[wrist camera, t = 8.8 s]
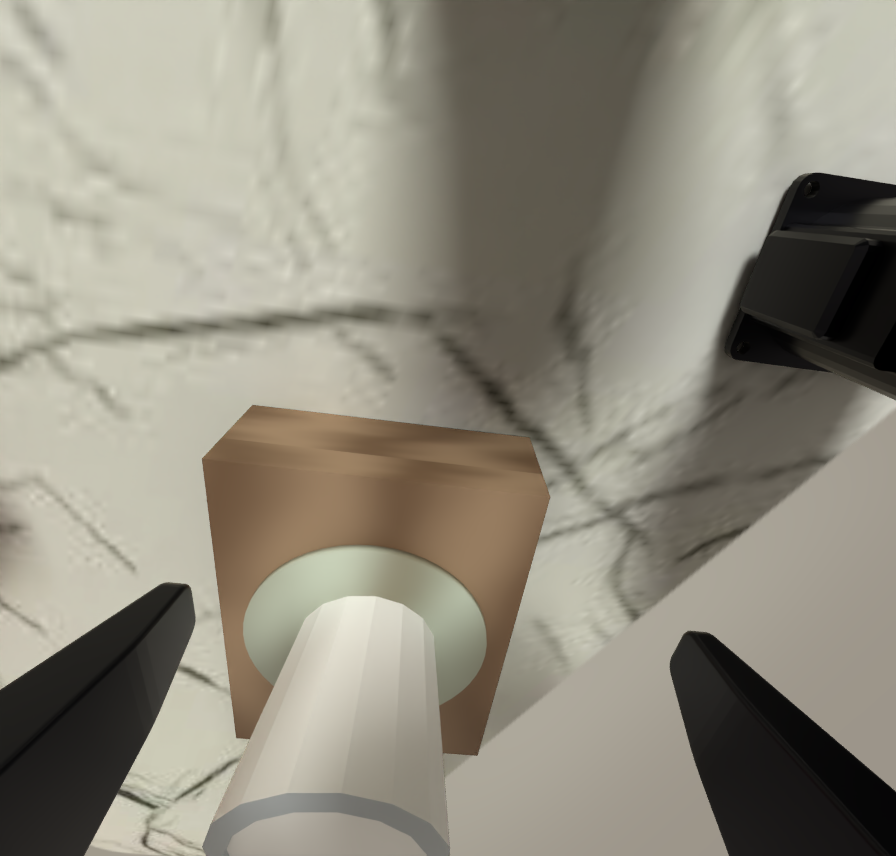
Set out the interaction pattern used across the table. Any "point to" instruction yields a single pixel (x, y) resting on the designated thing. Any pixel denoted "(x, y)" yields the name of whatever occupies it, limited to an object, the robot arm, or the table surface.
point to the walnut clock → (372, 544)
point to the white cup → (344, 744)
